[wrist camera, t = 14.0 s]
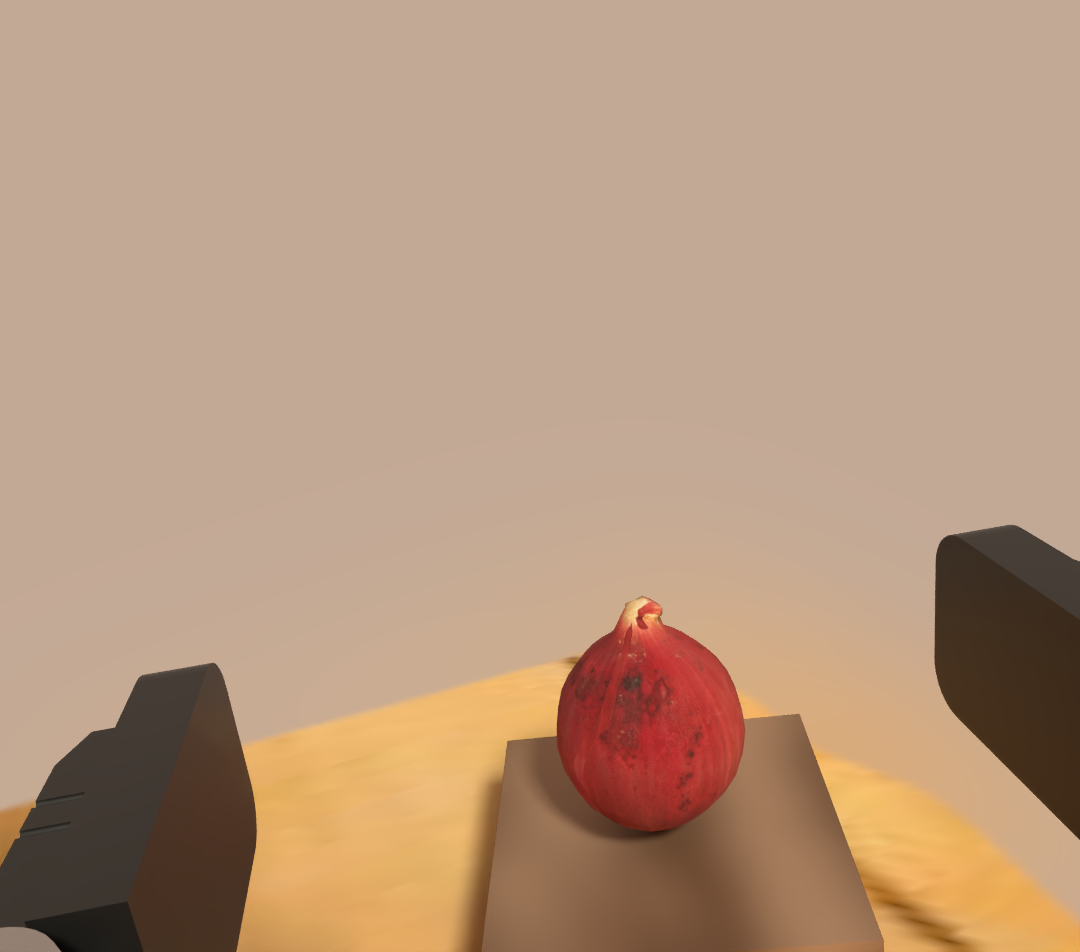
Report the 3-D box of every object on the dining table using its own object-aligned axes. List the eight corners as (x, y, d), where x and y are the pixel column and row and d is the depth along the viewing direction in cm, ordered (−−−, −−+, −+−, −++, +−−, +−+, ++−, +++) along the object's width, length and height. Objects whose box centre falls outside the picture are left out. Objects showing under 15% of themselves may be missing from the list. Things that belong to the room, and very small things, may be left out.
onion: (730, 906, 29) (709, 660, 26) (545, 873, 31) (508, 644, 28) (765, 783, 34) (751, 566, 31) (604, 762, 36) (578, 559, 33)
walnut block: (505, 1103, 29) (478, 969, 28) (525, 848, 40) (507, 740, 38) (887, 1079, 28) (883, 939, 27) (805, 825, 39) (799, 713, 37)
